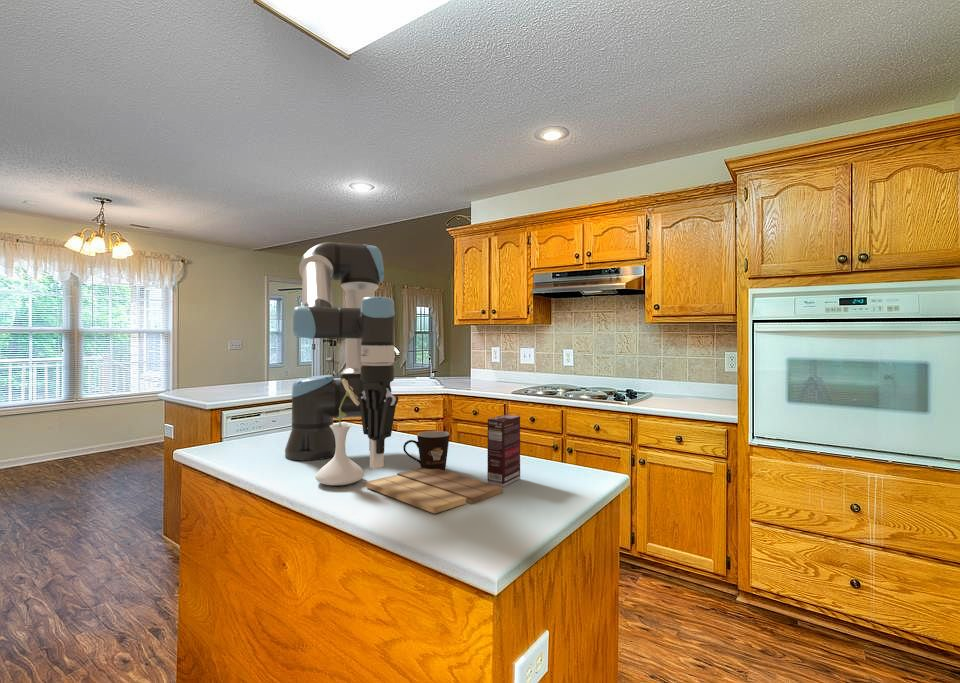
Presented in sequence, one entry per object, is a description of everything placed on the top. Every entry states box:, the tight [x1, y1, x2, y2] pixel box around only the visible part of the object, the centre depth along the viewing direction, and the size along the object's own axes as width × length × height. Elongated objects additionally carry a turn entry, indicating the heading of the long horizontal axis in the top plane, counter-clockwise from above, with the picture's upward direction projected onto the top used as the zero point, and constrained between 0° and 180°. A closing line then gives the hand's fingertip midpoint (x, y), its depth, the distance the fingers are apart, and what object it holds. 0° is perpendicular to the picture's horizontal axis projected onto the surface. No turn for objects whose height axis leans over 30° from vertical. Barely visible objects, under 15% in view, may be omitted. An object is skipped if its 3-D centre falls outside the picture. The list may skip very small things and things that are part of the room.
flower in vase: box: [315, 378, 365, 486], centre depth 114 cm, size 13×11×25 cm
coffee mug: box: [403, 430, 451, 471], centre depth 125 cm, size 12×9×10 cm
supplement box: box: [486, 414, 521, 488], centre depth 116 cm, size 9×5×16 cm, turn 146°
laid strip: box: [396, 466, 504, 505], centre depth 112 cm, size 26×10×1 cm, turn 48°
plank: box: [364, 474, 467, 515], centre depth 105 cm, size 24×9×1 cm, turn 48°
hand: (376, 466), depth 108 cm, fingers closed
